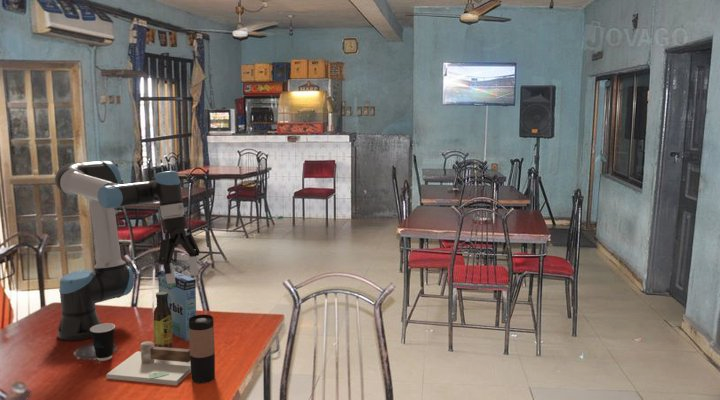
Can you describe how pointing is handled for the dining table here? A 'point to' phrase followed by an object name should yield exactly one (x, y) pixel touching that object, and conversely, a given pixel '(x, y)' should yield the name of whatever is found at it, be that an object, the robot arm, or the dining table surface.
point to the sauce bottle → (162, 322)
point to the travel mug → (202, 348)
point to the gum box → (179, 301)
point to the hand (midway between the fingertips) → (183, 279)
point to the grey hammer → (163, 353)
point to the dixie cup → (103, 340)
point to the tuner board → (150, 371)
